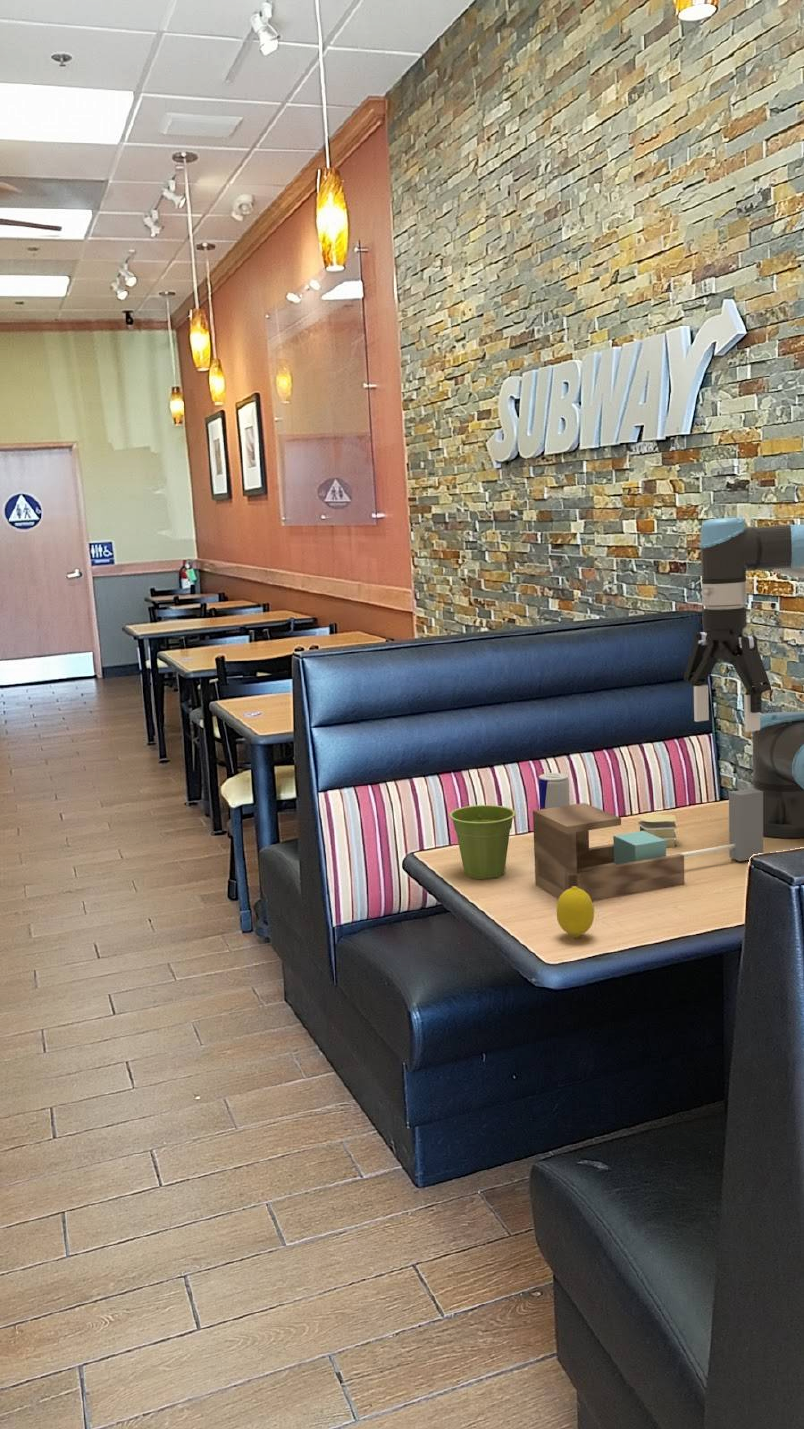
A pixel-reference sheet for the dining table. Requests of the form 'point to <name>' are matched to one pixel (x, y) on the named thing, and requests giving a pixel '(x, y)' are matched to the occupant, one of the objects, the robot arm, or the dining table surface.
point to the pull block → (741, 847)
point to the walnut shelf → (592, 856)
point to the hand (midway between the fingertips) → (726, 725)
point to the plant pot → (483, 838)
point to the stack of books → (659, 826)
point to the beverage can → (553, 790)
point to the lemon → (575, 911)
